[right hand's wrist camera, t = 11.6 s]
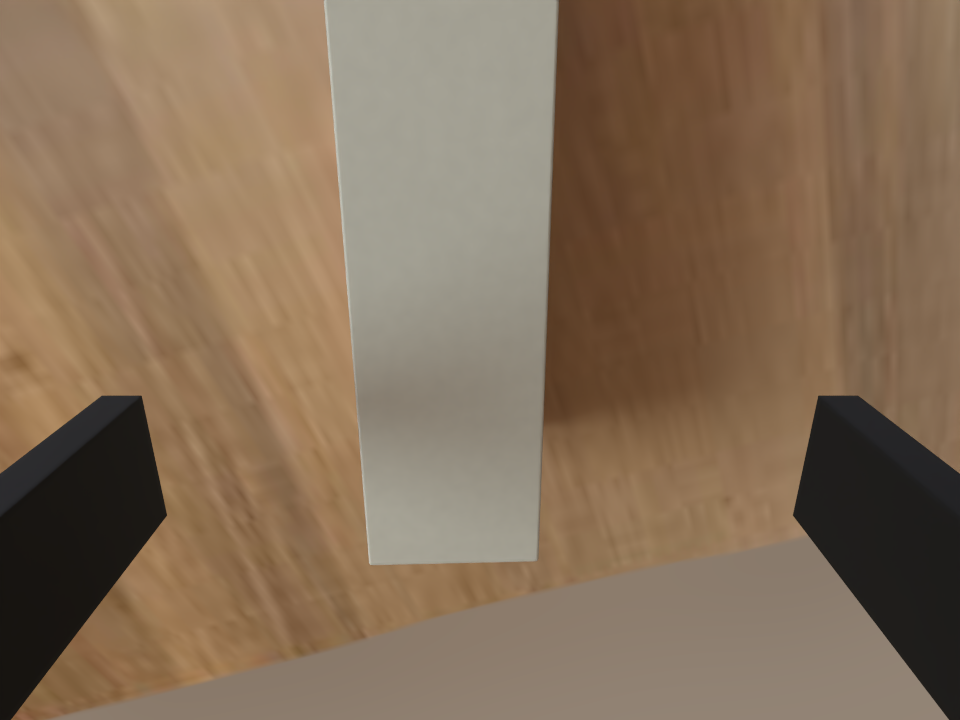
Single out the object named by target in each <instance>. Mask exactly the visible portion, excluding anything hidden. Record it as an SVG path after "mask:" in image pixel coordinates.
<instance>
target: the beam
mask: <svg viewBox="0 0 960 720" xmlns="http://www.w3.org/2000/svg"><path fill="white" fill-rule="evenodd" d="M324 8H325V20H326V32H327V45H328V57H329V70H330V82H331V95H332V107H333V119H334V132H335V144H336V157H337V169H338V181H339V194H340V206H341V219H342V231H343V243H344V256H345V268H346V281H347V293H348V306H349V318H350V330H351V343H352V355H353V368H354V380H355V392H356V405H357V417H358V430H359V442H360V454H361V467H362V479H363V492H364V504H365V517H366V529H367V541H368V554H369V563H370V565H396V564H438V563H481V562H524V561H537V560H538V555H539V528H540V501H541V474H542V447H543V419H544V392H545V365H546V338H547V311H548V284H549V257H550V230H551V203H552V176H553V148H554V121H555V94H556V67H557V40H558V13H559V0H324Z"/></svg>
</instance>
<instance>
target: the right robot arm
mask: <svg viewBox="0 0 960 720" xmlns="http://www.w3.org/2000/svg"><path fill="white" fill-rule="evenodd" d="M166 516H167V513H166V508H165V504H164V499H163V494H162V490H161V485H160V480H159V476H158V471H157V466H156V461H155V457H154V452H153V447H152V443H151V438H150V433H149V429H148V424H147V419H146V414H145V410H144V405H143V400H142V396H101V397H100V398H98V399H97V400H96V401H95V402H93V403H92V404H91V405H89V406H88V407H87V408H85V409H84V410H83V411H82V412H80V413H79V414H78V415H76V416H75V417H74V418H72V419H71V420H70V421H68V422H67V423H66V424H65V425H63V426H62V427H61V428H59V429H58V430H57V431H55V432H54V433H53V434H52V435H50V436H49V437H48V438H46V439H45V440H44V441H42V442H41V443H40V444H39V445H37V446H36V447H35V448H33V449H32V450H31V451H29V452H28V453H27V454H25V455H24V456H23V457H22V458H20V459H19V460H18V461H16V462H15V463H14V464H12V465H11V466H10V467H9V468H7V469H6V470H5V471H3V472H2V473H1V474H0V720H11V719H12V718H13V716H14V715H15V714H16V712H17V711H18V710H19V708H20V707H21V706H22V704H23V703H24V702H25V701H26V699H27V698H28V697H29V695H30V694H31V693H32V691H33V690H34V689H35V687H36V686H37V685H38V684H39V682H40V681H41V680H42V678H43V677H44V676H45V674H46V673H47V672H48V670H49V669H50V668H51V666H52V665H53V664H54V663H55V661H56V660H57V659H58V657H59V656H60V655H61V653H62V652H63V651H64V649H65V648H66V647H67V646H68V644H69V643H70V642H71V640H72V639H73V638H74V636H75V635H76V634H77V632H78V631H79V630H80V629H81V627H82V626H83V625H84V623H85V622H86V621H87V619H88V618H89V617H90V615H91V614H92V613H93V612H94V610H95V609H96V608H97V606H98V605H99V604H100V602H101V601H102V600H103V598H104V597H105V596H106V595H107V593H108V592H109V591H110V589H111V588H112V587H113V585H114V584H115V583H116V581H117V580H118V579H119V578H120V576H121V575H122V574H123V572H124V571H125V570H126V568H127V567H128V566H129V564H130V563H131V562H132V561H133V559H134V558H135V557H136V555H137V554H138V553H139V551H140V550H141V549H142V547H143V546H144V545H145V543H146V542H147V541H148V540H149V538H150V537H151V536H152V534H153V533H154V532H155V530H156V529H157V528H158V526H159V525H160V524H161V523H162V521H163V520H164V519H165V517H166ZM793 516H794V517H795V519H796V520H797V521H798V523H799V524H800V525H801V526H802V528H803V529H804V530H805V532H806V533H807V534H808V536H809V537H810V538H811V540H812V541H813V542H814V543H815V545H816V546H817V547H818V549H819V550H820V551H821V553H822V554H823V555H824V557H825V558H826V559H827V560H828V562H829V563H830V564H831V566H832V567H833V568H834V570H835V571H836V572H837V574H838V575H839V576H840V577H841V579H842V580H843V581H844V583H845V584H846V585H847V587H848V588H849V589H850V591H851V592H852V593H853V594H854V596H855V597H856V598H857V600H858V601H859V602H860V604H861V605H862V606H863V608H864V609H865V610H866V612H867V613H868V614H869V615H870V617H871V618H872V619H873V621H874V622H875V623H876V625H877V626H878V627H879V628H880V630H881V631H882V632H883V634H884V635H885V636H886V638H887V639H888V640H889V642H890V643H891V644H892V646H893V647H894V648H895V649H896V651H897V652H898V653H899V655H900V656H901V657H902V659H903V660H904V661H905V663H906V664H907V665H908V666H909V668H910V669H911V670H912V672H913V673H914V674H915V676H916V677H917V678H918V680H919V681H920V682H921V684H922V685H923V686H924V687H925V689H926V690H927V691H928V693H929V694H930V695H931V697H932V698H933V699H934V700H935V702H936V703H937V704H938V706H939V707H940V708H941V710H942V711H943V712H944V714H945V715H946V716H947V718H948V719H949V720H960V474H959V473H958V472H957V471H955V470H954V469H953V468H951V467H950V466H949V465H948V464H946V463H945V462H944V461H942V460H941V459H940V458H938V457H937V456H936V455H935V454H933V453H932V452H931V451H929V450H928V449H927V448H925V447H924V446H923V445H921V444H920V443H919V442H918V441H916V440H915V439H914V438H912V437H911V436H910V435H908V434H907V433H906V432H905V431H903V430H902V429H901V428H899V427H898V426H897V425H895V424H894V423H893V422H892V421H890V420H889V419H888V418H886V417H885V416H884V415H882V414H881V413H880V412H878V411H877V410H876V409H875V408H873V407H872V406H871V405H869V404H868V403H867V402H865V401H864V400H863V399H862V398H860V397H859V396H818V400H817V405H816V410H815V414H814V419H813V424H812V429H811V433H810V438H809V443H808V447H807V452H806V457H805V461H804V466H803V471H802V476H801V480H800V485H799V490H798V494H797V499H796V504H795V508H794V513H793Z"/></svg>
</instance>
